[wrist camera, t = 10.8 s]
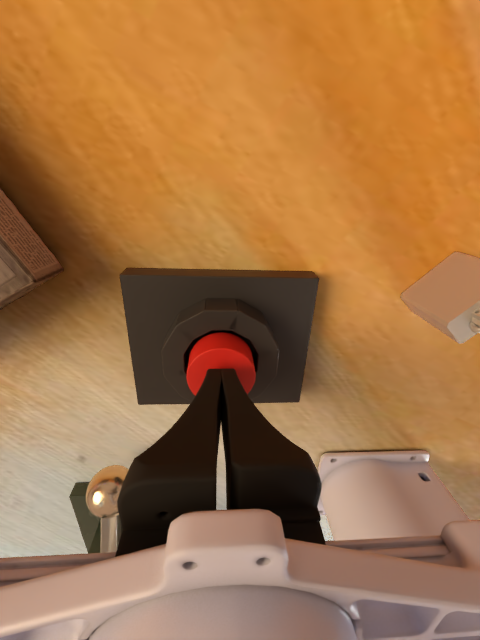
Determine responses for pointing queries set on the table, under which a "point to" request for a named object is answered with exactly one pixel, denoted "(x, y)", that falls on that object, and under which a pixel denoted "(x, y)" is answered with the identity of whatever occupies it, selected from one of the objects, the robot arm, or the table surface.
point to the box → (21, 255)
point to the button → (220, 359)
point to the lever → (107, 504)
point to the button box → (217, 326)
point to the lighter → (449, 296)
